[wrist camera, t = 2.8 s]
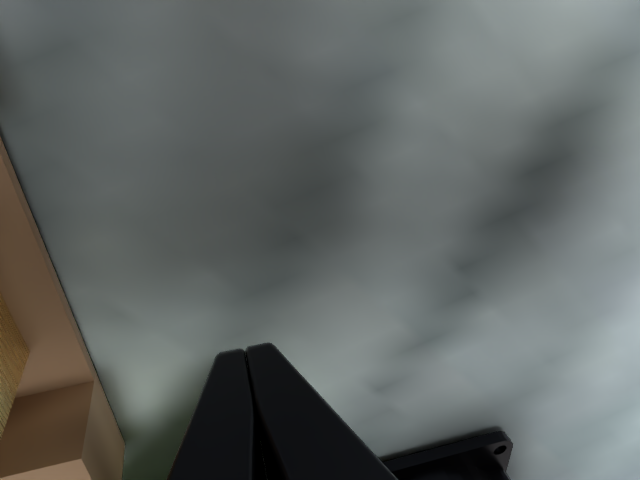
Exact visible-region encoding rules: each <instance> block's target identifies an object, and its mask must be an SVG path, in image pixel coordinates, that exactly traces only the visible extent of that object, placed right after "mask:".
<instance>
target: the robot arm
mask: <svg viewBox="0 0 640 480" xmlns="http://www.w3.org/2000/svg"><path fill="white" fill-rule="evenodd" d="M245 354H246V356H245ZM246 360H247V361H246ZM247 366H248V367H247ZM512 448H513V443H512V442H511V440H510V439H509V437H508V436H507V434H506V433H505V432H503V431H498V432H493V433H490V434H486V435H482V436H478V437H475V438H471V439H467V440H464V441H460V442H456V443H453V444H449V445H445V446H441V447H438V448H434V449H430V450H427V451H423V452H419V453H416V454H412V455H408V456H404V457H401V458H397V459H393V460H390V461H386V462H381V461H380V460H379V459H378V457H377V456H376V455H375V454H374V453H373V452H372V451H371V450H370V449H369V448H368V447H367V446H366V444H365V443H364V442H363V441H362V440H361V439H360V438H359V437H358V436H357V435H356V434H355V433H354V431H353V430H352V429H351V428H350V427H349V426H348V425H347V424H346V423H345V422H344V421H343V420H342V418H341V417H340V416H339V415H338V414H337V413H336V412H335V411H334V410H333V409H332V408H331V406H330V405H329V404H328V403H327V402H326V401H325V400H324V399H323V398H322V397H321V396H320V395H319V393H318V392H317V391H316V390H315V389H314V388H313V387H312V386H311V385H310V384H309V383H308V382H307V380H306V379H305V378H304V377H303V376H302V375H301V374H300V373H299V372H298V371H297V370H296V369H295V367H294V366H293V365H292V364H291V363H290V362H289V361H288V360H287V359H286V358H285V357H284V356H283V354H282V353H281V352H280V351H279V350H278V349H277V348H276V347H275V346H274V345H273V344H272V343H263V344H258V345H254V346H249V347H247V348H246V350H245V351H244V350H243V349H234V350H230V351H225V352H220V353H219V354H217V356H216V357H215V359H214V362H213V364H212V367H211V369H210V372H209V374H208V377H207V379H206V382H205V384H204V387H203V389H202V392H201V394H200V397H199V399H198V402H197V404H196V407H195V410H194V412H193V415H192V417H191V420H190V422H189V425H188V427H187V430H186V432H185V435H184V437H183V440H182V442H181V445H180V447H179V450H178V452H177V455H176V457H175V460H174V462H173V465H172V467H171V470H170V472H169V475H168V477H167V480H510V478H509V476H508V475H507V473H506V470H507V466H508V462H509V459H510V455H511V451H512ZM262 452H263V453H262ZM263 458H264V459H263ZM264 464H265V465H264ZM265 469H266V471H265ZM266 475H267V477H266Z"/></svg>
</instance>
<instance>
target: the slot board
mask: <svg viewBox="0 0 640 480" xmlns="http://www.w3.org/2000/svg"><path fill="white" fill-rule="evenodd" d="M0 292H1V294H2V296H3V298H4V300H5V302H6V304H7V306H8V308H9V310H10V312H11V314H12V317H13V319H14V321H15V323H16V325H17V327H18V329H19V331H20V333H21V335H22V337H23V339H24V341H25V343H26V345H27V347H28V349H29V351H30V354H29V357H28V360H27V363H26V365H25V368H24V371H23V374H22V377H21V380H20V383H19V386H18V389H17V392H16V395H15V398H14V401H13V404H12V407H11V410H10V413H9V416H8V419H7V422H6V425H5V428H4V431H3V434H2V437H1V440H0V480H122V474H123V462H124V451H125V443H124V440H123V438H122V435H121V433H120V430H119V428H118V425H117V423H116V420H115V418H114V415H113V413H112V410H111V408H110V406H109V403H108V401H107V398H106V396H105V393H104V391H103V388H102V386H101V383H100V381H99V378H98V376H97V374H96V371H95V369H94V366H93V364H92V361H91V359H90V356H89V354H88V351H87V349H86V346H85V344H84V341H83V339H82V337H81V334H80V332H79V329H78V327H77V324H76V322H75V319H74V317H73V314H72V312H71V309H70V307H69V304H68V302H67V300H66V297H65V295H64V292H63V290H62V287H61V285H60V282H59V280H58V277H57V275H56V272H55V270H54V268H53V265H52V263H51V260H50V258H49V255H48V253H47V250H46V248H45V245H44V243H43V240H42V238H41V235H40V233H39V231H38V228H37V226H36V223H35V221H34V218H33V216H32V213H31V211H30V208H29V206H28V203H27V201H26V199H25V196H24V194H23V191H22V189H21V186H20V184H19V181H18V179H17V176H16V174H15V171H14V169H13V166H12V164H11V162H10V159H9V157H8V154H7V152H6V149H5V147H4V144H3V142H2V139H1V137H0Z"/></svg>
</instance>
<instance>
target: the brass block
mask: <svg viewBox="0 0 640 480" xmlns="http://www.w3.org/2000/svg"><path fill="white" fill-rule="evenodd" d="M29 354H30V351H29V349H28V347H27V345H26V343H25V341H24V339H23V337H22V335H21V333H20V331H19V329H18V327H17V325H16V323H15V321H14V319H13V317H12V314H11V312H10V310H9V308H8V306H7V304H6V302H5V300H4V298H3V296H2V294H1V292H0V440H1V437H2V434H3V431H4V428H5V425H6V422H7V419H8V416H9V413H10V410H11V407H12V404H13V401H14V398H15V395H16V392H17V389H18V386H19V383H20V380H21V377H22V374H23V371H24V368H25V365H26V363H27V360H28V357H29Z"/></svg>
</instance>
